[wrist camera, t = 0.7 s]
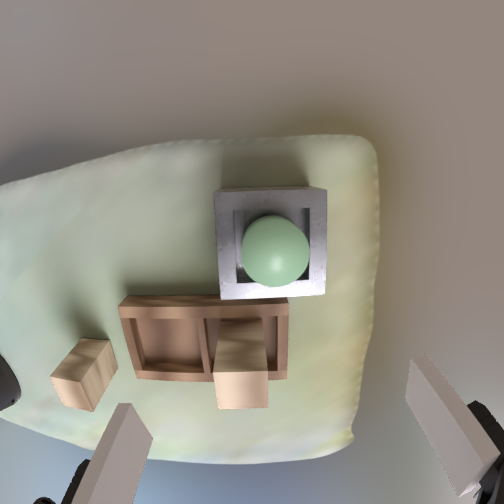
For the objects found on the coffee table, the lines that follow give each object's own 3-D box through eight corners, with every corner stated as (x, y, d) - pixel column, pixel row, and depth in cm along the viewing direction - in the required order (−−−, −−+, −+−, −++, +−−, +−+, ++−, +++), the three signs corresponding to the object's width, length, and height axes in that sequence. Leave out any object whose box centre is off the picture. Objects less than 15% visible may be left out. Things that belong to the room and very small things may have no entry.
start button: (242, 276, 27) (242, 288, 24) (240, 216, 26) (239, 221, 23) (302, 273, 27) (308, 285, 24) (303, 214, 26) (310, 219, 23)
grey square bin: (225, 275, 34) (220, 299, 28) (220, 188, 32) (213, 192, 25) (309, 271, 35) (324, 294, 28) (310, 186, 32) (327, 189, 25)
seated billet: (223, 354, 36) (218, 408, 26) (220, 321, 35) (212, 372, 25) (262, 353, 36) (268, 407, 26) (262, 319, 35) (267, 370, 25)
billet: (91, 364, 38) (63, 405, 28) (81, 338, 37) (49, 376, 27) (118, 368, 38) (93, 411, 28) (109, 340, 37) (80, 382, 27)
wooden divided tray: (143, 365, 38) (137, 378, 35) (127, 296, 35) (117, 306, 32) (283, 364, 38) (286, 378, 35) (285, 292, 35) (288, 303, 32)
